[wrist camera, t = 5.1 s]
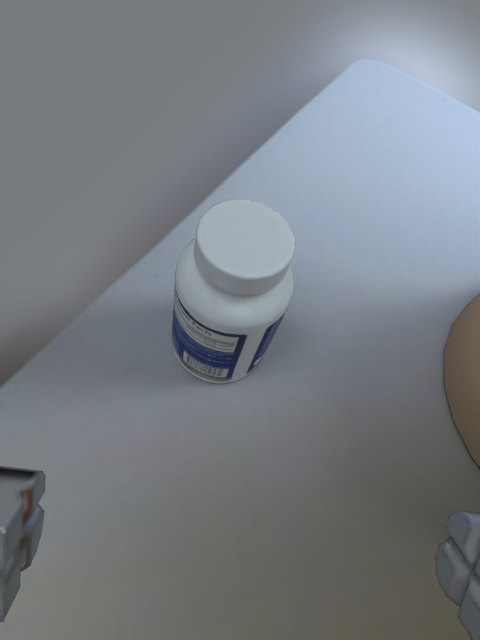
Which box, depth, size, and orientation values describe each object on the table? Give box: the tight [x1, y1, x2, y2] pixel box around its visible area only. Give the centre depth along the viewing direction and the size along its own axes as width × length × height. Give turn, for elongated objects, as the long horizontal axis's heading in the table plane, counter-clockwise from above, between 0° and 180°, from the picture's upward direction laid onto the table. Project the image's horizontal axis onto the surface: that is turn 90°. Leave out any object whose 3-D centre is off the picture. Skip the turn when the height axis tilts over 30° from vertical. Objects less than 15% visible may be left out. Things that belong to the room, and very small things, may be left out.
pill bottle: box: [172, 199, 295, 384], centre depth 22 cm, size 5×5×10 cm
